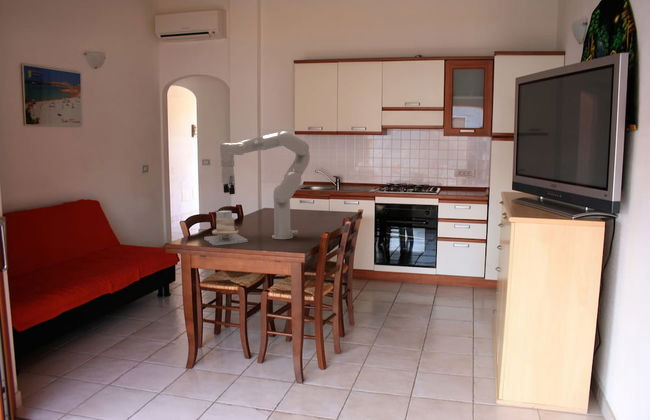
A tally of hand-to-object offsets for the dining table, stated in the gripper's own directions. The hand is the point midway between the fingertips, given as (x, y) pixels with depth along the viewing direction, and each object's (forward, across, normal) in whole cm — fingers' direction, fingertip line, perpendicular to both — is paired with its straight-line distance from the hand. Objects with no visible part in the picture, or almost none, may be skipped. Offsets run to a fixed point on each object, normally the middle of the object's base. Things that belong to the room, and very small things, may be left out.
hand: (229, 193), depth 327 cm
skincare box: (+28, -16, +1) cm, 32 cm away
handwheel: (+26, +2, -4) cm, 26 cm away
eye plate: (+27, +2, -5) cm, 28 cm away
